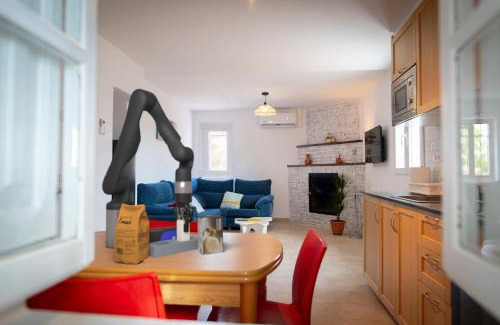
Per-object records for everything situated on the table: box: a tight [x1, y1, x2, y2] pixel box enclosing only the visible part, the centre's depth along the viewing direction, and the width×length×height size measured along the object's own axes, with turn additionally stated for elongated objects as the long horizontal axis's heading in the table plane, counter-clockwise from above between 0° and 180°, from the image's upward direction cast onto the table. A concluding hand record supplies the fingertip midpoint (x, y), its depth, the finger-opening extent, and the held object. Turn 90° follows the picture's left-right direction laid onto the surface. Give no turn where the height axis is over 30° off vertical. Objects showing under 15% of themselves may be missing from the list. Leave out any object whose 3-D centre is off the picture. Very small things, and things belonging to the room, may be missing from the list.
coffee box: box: [197, 214, 224, 256], centre depth 127 cm, size 9×6×16 cm
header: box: [149, 236, 198, 259], centre depth 129 cm, size 9×21×5 cm, turn 132°
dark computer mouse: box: [149, 225, 177, 243], centre depth 137 cm, size 16×5×9 cm, turn 123°
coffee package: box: [113, 204, 150, 265], centre depth 119 cm, size 10×12×22 cm
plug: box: [176, 218, 191, 242], centre depth 132 cm, size 4×4×10 cm
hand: (183, 231), depth 132 cm, fingers closed on plug, 4 cm apart
